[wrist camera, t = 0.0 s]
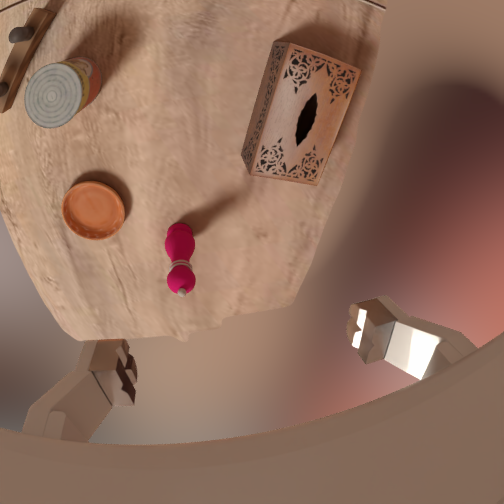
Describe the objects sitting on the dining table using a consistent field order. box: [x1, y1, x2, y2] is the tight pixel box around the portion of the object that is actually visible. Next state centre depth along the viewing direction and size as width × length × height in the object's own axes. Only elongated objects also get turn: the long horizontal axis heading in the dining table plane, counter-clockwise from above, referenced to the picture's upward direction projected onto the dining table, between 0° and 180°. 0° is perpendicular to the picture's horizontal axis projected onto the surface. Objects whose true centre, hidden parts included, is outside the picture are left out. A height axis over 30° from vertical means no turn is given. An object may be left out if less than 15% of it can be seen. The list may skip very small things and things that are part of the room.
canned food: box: [24, 57, 102, 128], centre depth 36 cm, size 11×11×12 cm
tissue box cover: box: [241, 41, 362, 186], centre depth 51 cm, size 26×14×10 cm, turn 165°
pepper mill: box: [165, 223, 196, 297], centre depth 63 cm, size 7×7×20 cm
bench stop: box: [0, 8, 56, 113], centre depth 28 cm, size 22×4×9 cm, turn 138°
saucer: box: [61, 181, 125, 240], centre depth 59 cm, size 16×16×3 cm
